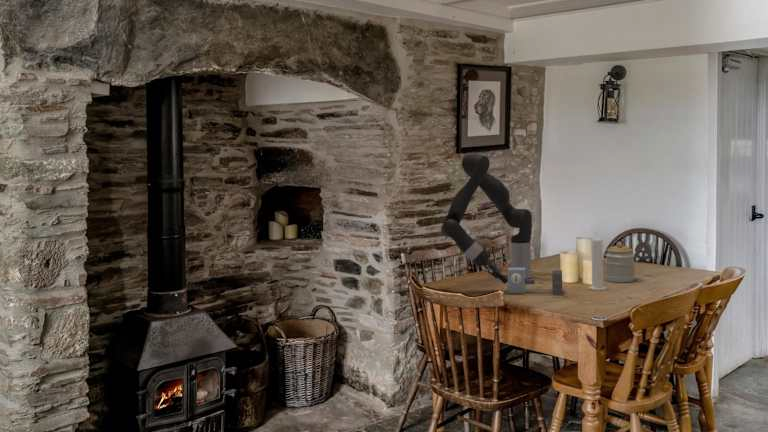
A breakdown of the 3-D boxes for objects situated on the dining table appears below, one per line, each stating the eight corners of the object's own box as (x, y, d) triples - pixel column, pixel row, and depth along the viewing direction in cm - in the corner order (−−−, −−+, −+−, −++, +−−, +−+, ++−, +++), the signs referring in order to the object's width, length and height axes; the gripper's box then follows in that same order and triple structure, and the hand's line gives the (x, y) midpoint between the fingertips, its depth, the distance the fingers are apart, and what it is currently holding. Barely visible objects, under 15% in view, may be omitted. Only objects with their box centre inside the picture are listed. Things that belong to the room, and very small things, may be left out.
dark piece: (499, 291, 319) (498, 269, 318) (564, 291, 312) (564, 269, 311) (497, 297, 307) (496, 274, 306) (564, 297, 300) (564, 274, 299)
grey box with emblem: (509, 290, 315) (508, 267, 314) (534, 290, 312) (534, 267, 311) (508, 293, 308) (507, 270, 307) (534, 293, 306) (533, 270, 305)
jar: (636, 283, 325) (636, 244, 323) (606, 283, 327) (606, 244, 325) (633, 277, 337) (632, 240, 336) (604, 277, 340) (603, 240, 338)
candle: (594, 291, 311) (594, 233, 309) (586, 288, 318) (585, 231, 316) (609, 289, 313) (608, 232, 311) (600, 286, 320) (599, 230, 317)
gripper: (481, 250, 306) (511, 279, 304) (484, 246, 319) (513, 273, 317) (469, 263, 308) (499, 291, 306) (473, 257, 321) (501, 285, 319)
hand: (506, 282), depth 312 cm, fingers closed
